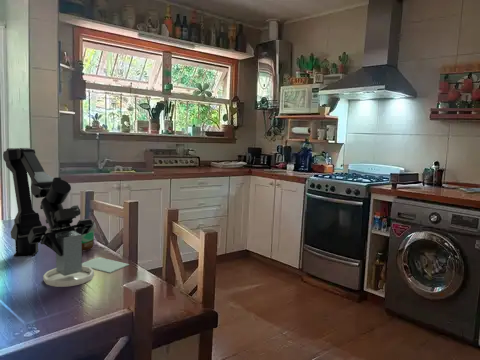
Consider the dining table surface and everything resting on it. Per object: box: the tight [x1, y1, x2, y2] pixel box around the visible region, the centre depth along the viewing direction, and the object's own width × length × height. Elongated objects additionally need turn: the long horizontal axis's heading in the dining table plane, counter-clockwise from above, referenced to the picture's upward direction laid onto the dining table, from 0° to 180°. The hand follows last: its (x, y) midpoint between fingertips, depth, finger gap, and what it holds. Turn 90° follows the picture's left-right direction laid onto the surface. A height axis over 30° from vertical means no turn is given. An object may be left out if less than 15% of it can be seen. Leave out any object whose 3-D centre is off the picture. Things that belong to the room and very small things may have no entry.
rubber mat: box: [82, 256, 130, 274], centre depth 134 cm, size 14×9×1 cm, turn 65°
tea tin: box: [55, 231, 83, 276], centre depth 121 cm, size 6×6×12 cm
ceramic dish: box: [42, 265, 95, 288], centre depth 122 cm, size 14×14×2 cm
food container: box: [82, 219, 97, 252], centre depth 153 cm, size 12×6×10 cm, turn 168°
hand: (70, 253), depth 120 cm, fingers closed on tea tin, 5 cm apart
